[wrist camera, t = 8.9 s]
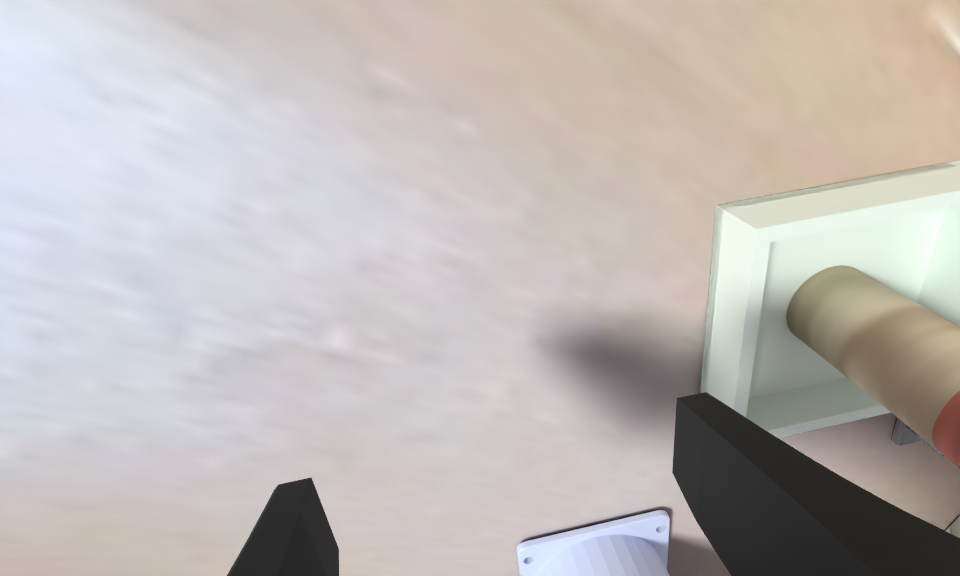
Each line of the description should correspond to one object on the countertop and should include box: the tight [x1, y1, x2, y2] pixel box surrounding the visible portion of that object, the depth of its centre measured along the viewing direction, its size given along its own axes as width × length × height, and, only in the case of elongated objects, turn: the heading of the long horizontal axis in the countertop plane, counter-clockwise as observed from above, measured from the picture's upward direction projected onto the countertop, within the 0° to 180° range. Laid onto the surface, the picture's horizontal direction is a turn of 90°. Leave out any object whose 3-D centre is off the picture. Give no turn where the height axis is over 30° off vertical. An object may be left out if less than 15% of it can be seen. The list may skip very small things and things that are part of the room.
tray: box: [700, 160, 960, 438], centre depth 22 cm, size 10×10×2 cm
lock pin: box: [786, 265, 960, 467], centre depth 20 cm, size 4×4×8 cm
